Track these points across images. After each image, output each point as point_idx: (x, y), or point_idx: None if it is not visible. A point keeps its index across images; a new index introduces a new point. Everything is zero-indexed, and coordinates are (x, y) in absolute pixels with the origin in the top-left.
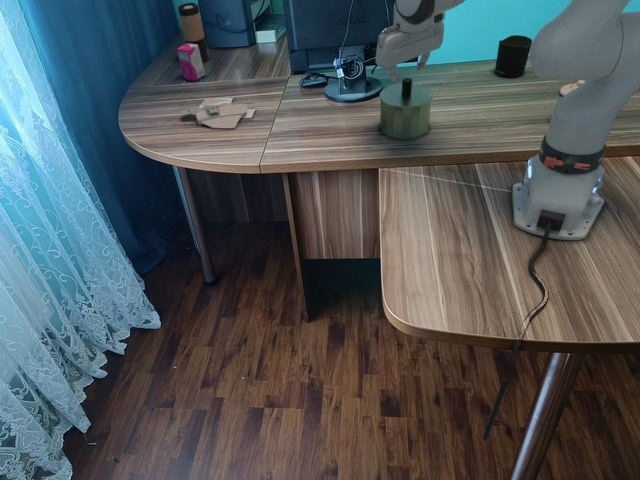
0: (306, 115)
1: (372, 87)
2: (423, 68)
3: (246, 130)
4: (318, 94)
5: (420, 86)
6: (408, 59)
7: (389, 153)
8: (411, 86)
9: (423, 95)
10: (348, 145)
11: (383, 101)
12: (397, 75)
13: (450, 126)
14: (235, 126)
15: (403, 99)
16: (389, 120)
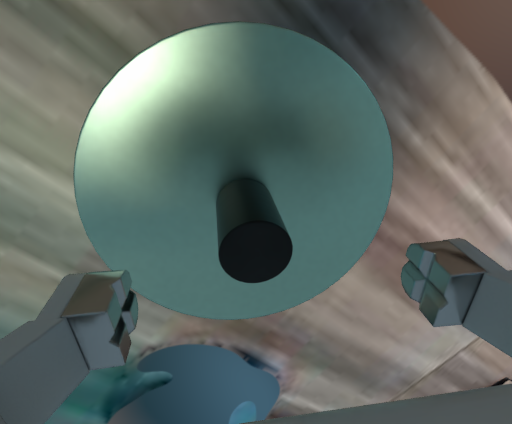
0: (373, 356)
1: (143, 391)
2: (92, 277)
3: (499, 363)
4: (280, 416)
5: (112, 231)
6: (490, 400)
7: (400, 30)
8: (236, 204)
9: (173, 123)
10: (434, 174)
11: (383, 216)
12: (464, 264)
13: (56, 20)
14: (504, 383)
15: (301, 165)
16: None
